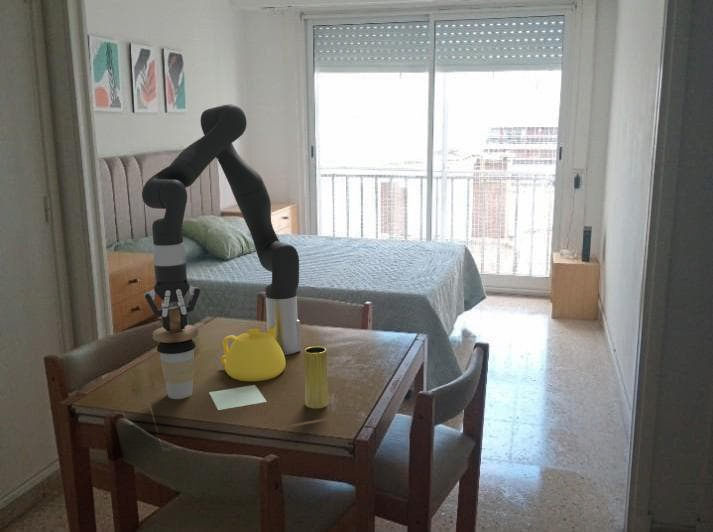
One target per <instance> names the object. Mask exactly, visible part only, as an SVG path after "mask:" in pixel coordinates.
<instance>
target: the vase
mask: <svg viewBox="0 0 713 532" xmlns="http://www.w3.org/2000/svg"><path fill="white" fill-rule="evenodd" d="M303 353H304V406H305V407H307V408H310V409H323V408H325V407H328V406H329V405H330V393H329V383H328V381H329V380H328V367H327V366H328V364H327V361H328V360H327V349H326V348H325V347H323V346H318V345H317V346H309V347H307V348H305V349H304V352H303Z"/></svg>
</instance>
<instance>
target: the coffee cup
mask: <svg viewBox="0 0 713 532" xmlns="http://www.w3.org/2000/svg"><path fill="white" fill-rule="evenodd" d="M158 343H159V344H157V346H156V351H157V352H158V353H159V355H160V356H159V357H160V364H161V365H160V366H161V369H162V370H161V371H162V375H163V380H164V383H165V388H166V392H167V393H166V394H167V397H168V398H169V399H172V400H182V399H186V398H189V397H191V396H192V395H193V389H194V388H193V384H194V377H195V372H194V371H195V354H194V353H195V348H196V346H197V345H196V342H195V341H194V340H193V339H190V340H187V341H182V342H174V343H163V342H158Z"/></svg>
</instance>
